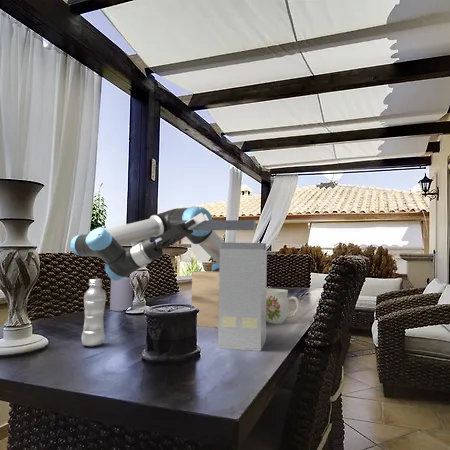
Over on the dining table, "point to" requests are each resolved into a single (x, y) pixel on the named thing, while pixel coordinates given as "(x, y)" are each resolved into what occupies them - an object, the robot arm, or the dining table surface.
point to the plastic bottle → (94, 314)
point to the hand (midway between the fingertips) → (205, 216)
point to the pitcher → (278, 305)
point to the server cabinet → (242, 296)
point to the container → (121, 294)
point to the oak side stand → (206, 297)
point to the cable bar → (225, 225)
